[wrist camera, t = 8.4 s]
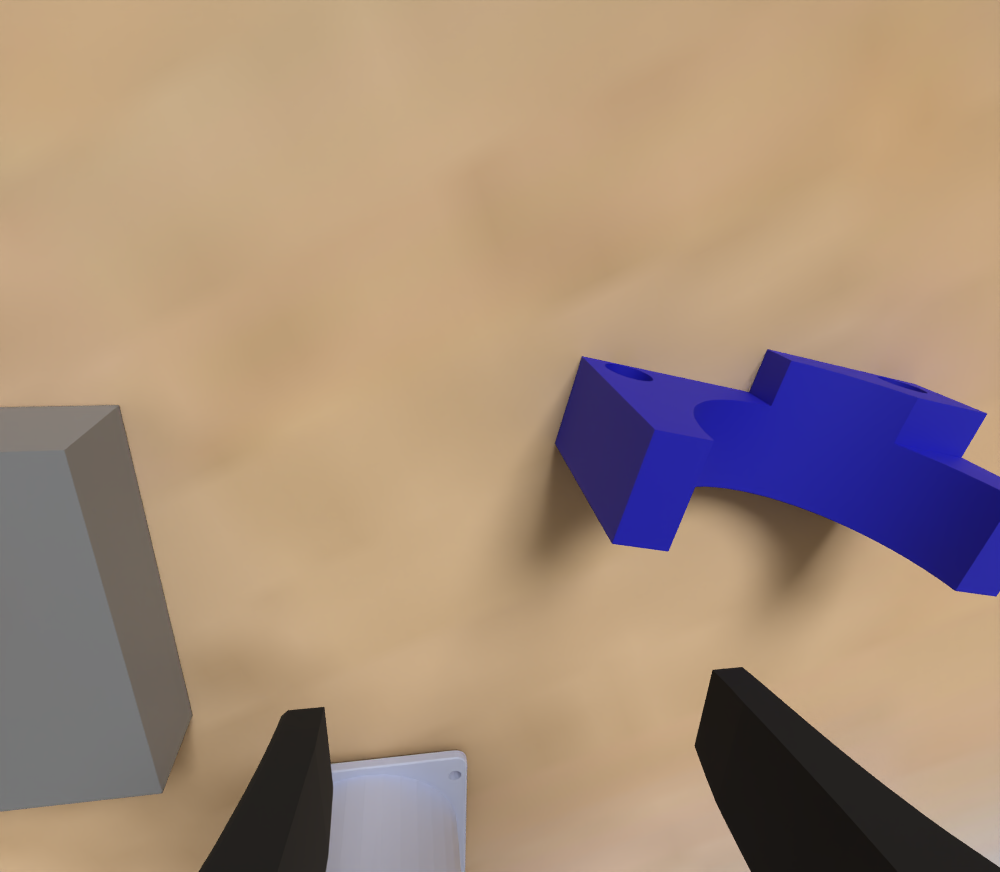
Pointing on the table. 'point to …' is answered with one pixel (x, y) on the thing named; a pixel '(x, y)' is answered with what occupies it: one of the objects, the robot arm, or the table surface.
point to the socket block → (80, 617)
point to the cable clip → (788, 457)
